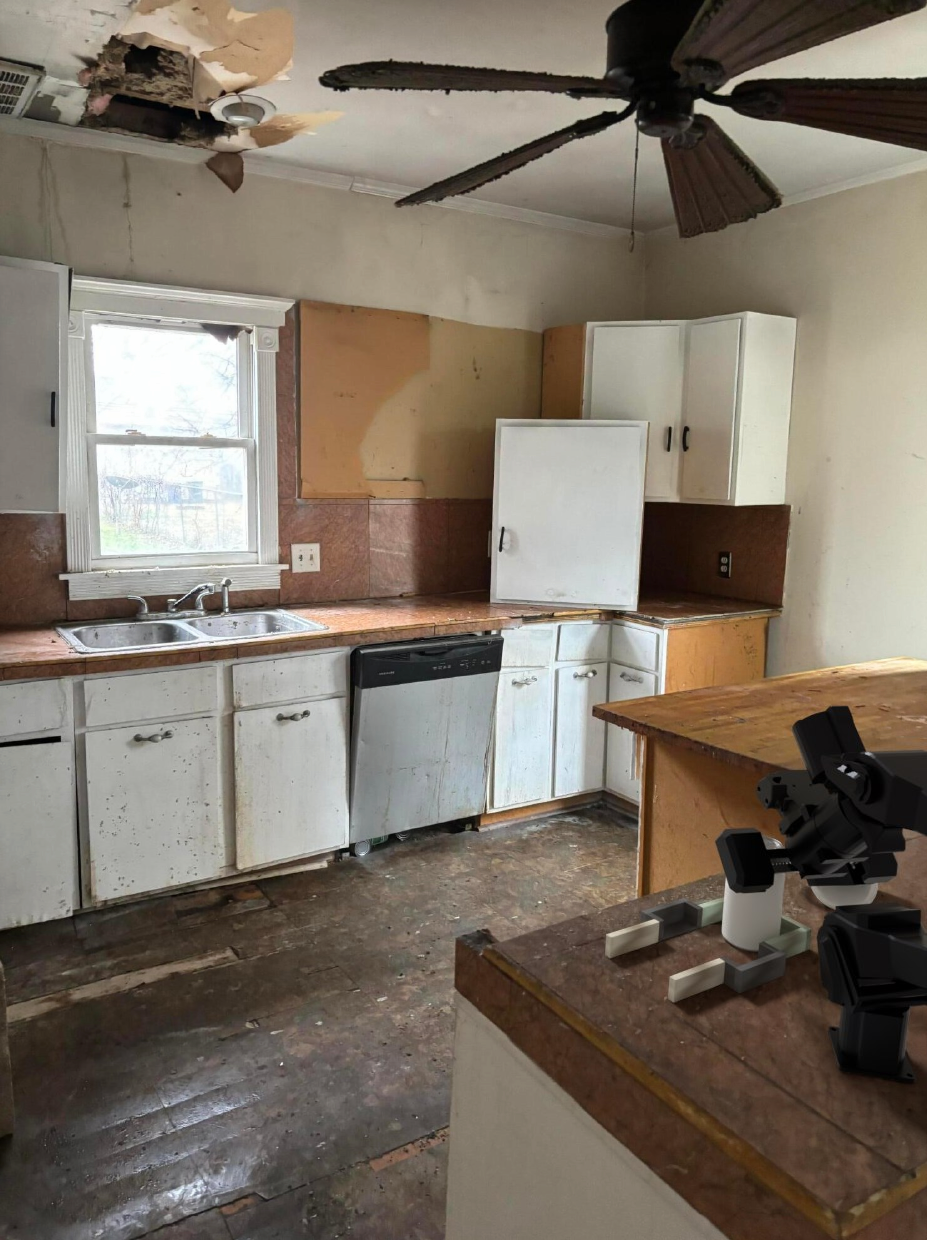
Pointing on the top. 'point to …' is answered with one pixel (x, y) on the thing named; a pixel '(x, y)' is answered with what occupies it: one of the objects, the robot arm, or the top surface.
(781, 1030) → the top surface
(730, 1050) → the top surface
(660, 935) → the channel
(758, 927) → the can
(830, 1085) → the top surface
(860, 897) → the mug
